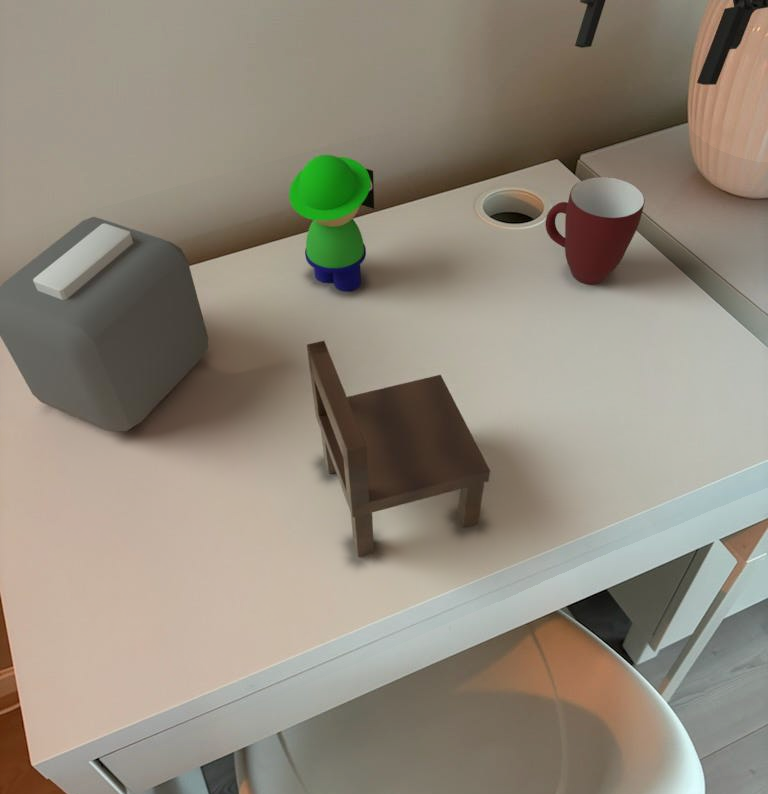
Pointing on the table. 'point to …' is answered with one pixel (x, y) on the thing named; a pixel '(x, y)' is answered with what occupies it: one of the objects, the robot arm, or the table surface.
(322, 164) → the toy
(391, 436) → the chair
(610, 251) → the mug
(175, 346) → the alarm clock
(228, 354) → the table surface
